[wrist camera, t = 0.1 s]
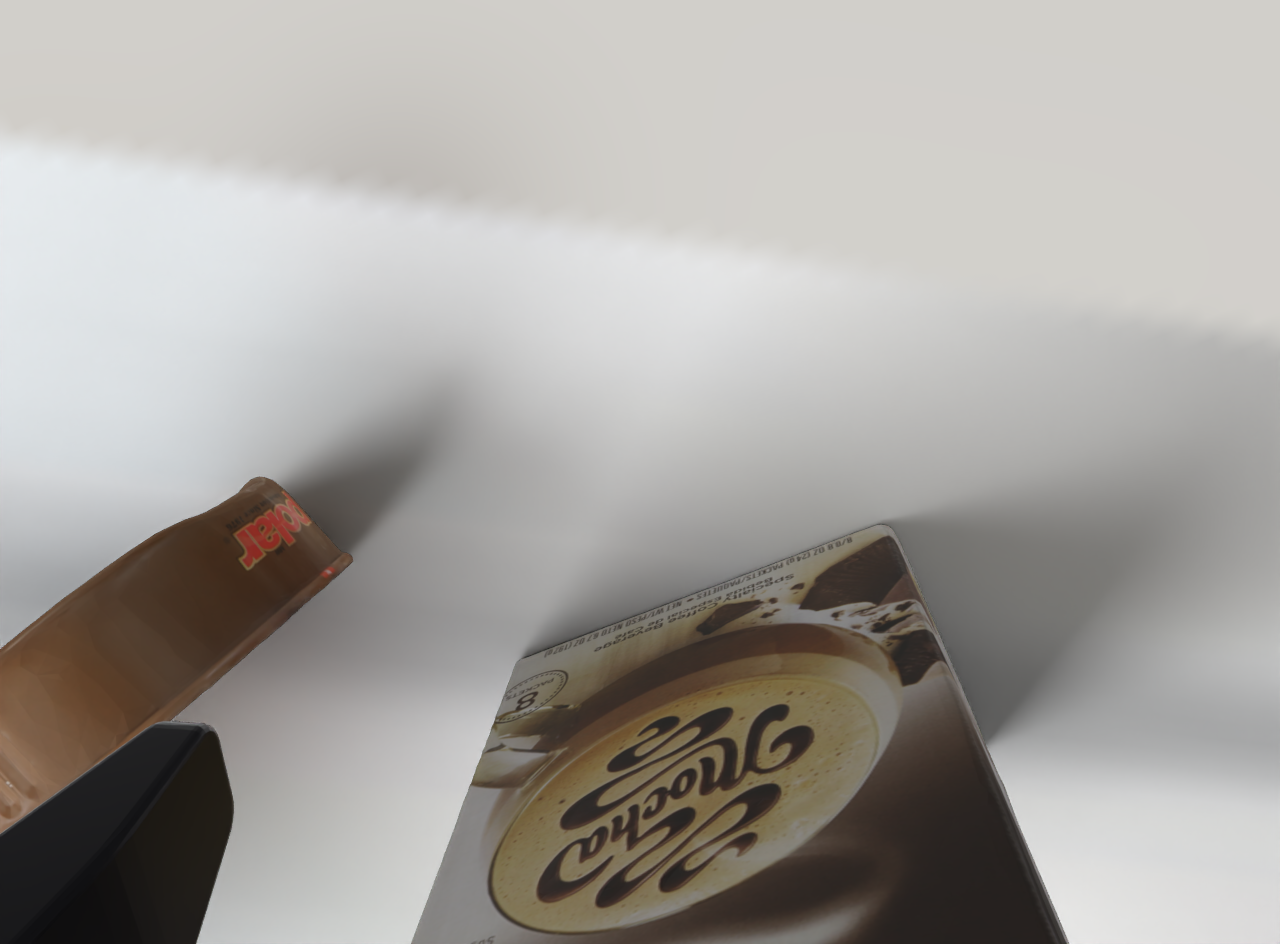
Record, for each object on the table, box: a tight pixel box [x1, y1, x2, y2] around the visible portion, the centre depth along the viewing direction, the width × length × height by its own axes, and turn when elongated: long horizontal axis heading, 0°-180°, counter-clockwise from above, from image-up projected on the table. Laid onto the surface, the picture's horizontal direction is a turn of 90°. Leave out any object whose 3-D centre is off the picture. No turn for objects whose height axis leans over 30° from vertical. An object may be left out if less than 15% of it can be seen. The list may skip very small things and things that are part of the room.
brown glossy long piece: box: [0, 477, 353, 833], centre depth 22 cm, size 15×3×8 cm, turn 130°
